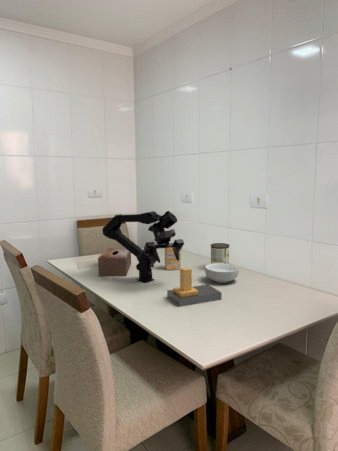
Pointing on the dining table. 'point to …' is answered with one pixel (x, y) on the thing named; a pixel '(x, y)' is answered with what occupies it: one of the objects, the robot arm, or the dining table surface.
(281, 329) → the dining table surface
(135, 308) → the dining table surface
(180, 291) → the orange post
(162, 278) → the dining table surface
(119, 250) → the tissue box cover
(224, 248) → the coffee can
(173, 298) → the grey metal plate
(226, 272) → the cereal bowl
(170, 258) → the supplement box
